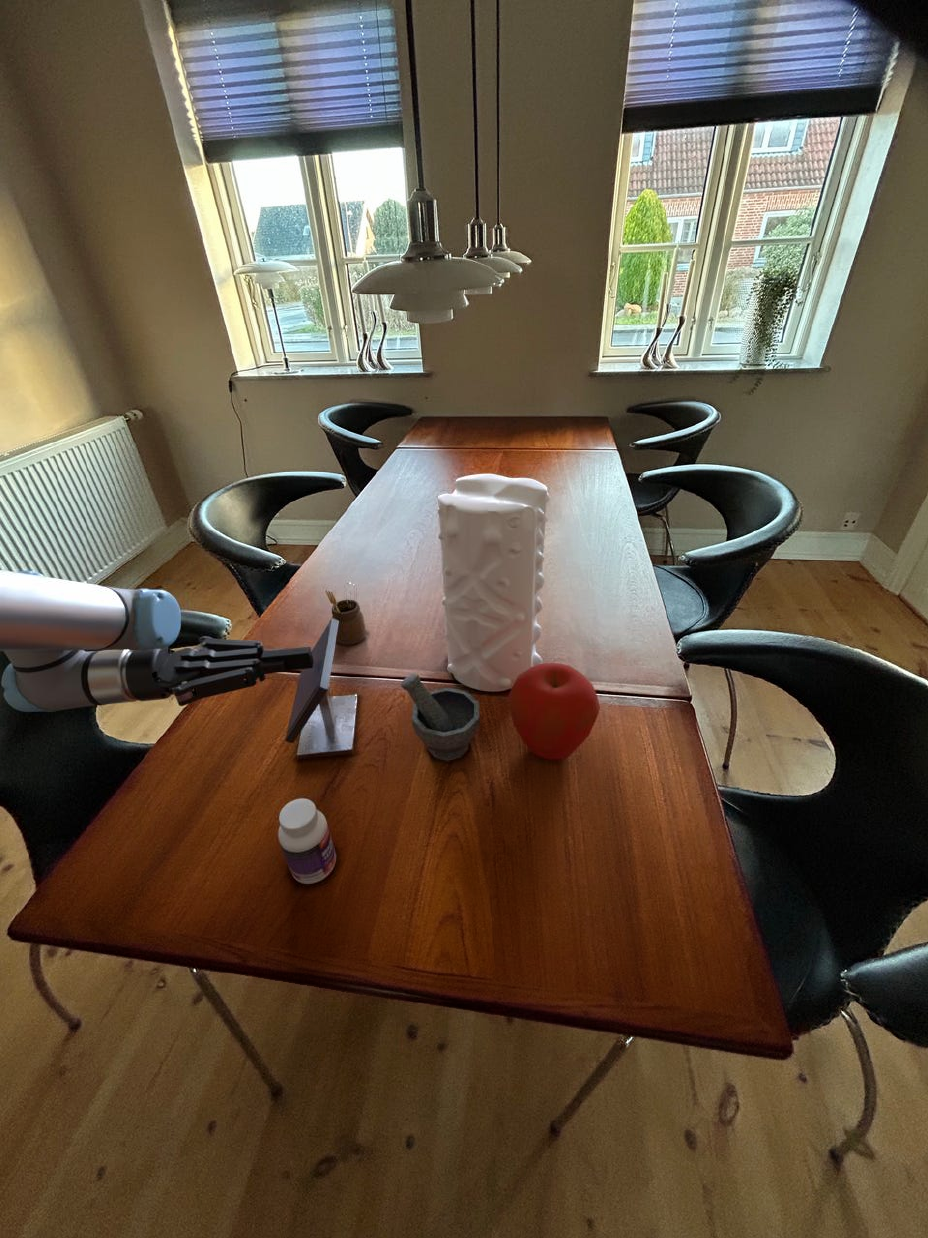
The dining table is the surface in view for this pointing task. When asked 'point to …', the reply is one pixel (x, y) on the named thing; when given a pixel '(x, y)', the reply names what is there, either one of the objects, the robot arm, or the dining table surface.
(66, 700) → the robot arm
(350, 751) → the monitor stand
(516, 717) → the apple
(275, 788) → the dining table surface
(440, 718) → the mortar and pestle
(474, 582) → the vase
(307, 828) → the pill bottle
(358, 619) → the utensil holder
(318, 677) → the monitor screen
